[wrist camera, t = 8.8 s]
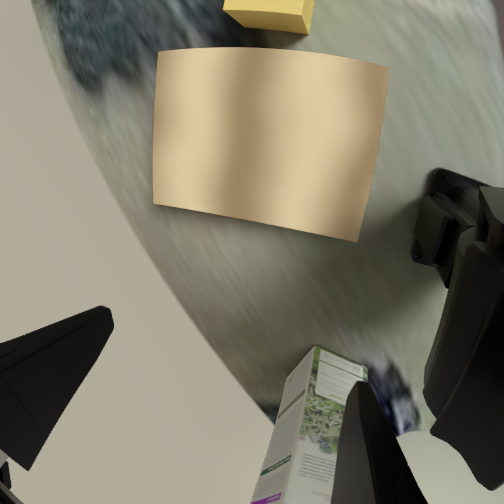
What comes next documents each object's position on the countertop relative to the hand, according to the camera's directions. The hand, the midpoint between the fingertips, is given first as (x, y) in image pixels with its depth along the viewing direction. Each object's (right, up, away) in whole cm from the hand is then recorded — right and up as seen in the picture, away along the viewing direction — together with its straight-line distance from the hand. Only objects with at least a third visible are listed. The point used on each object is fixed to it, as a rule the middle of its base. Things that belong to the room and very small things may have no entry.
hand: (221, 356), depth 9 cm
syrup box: (+8, -7, +16) cm, 19 cm away
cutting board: (+2, +11, +8) cm, 13 cm away
